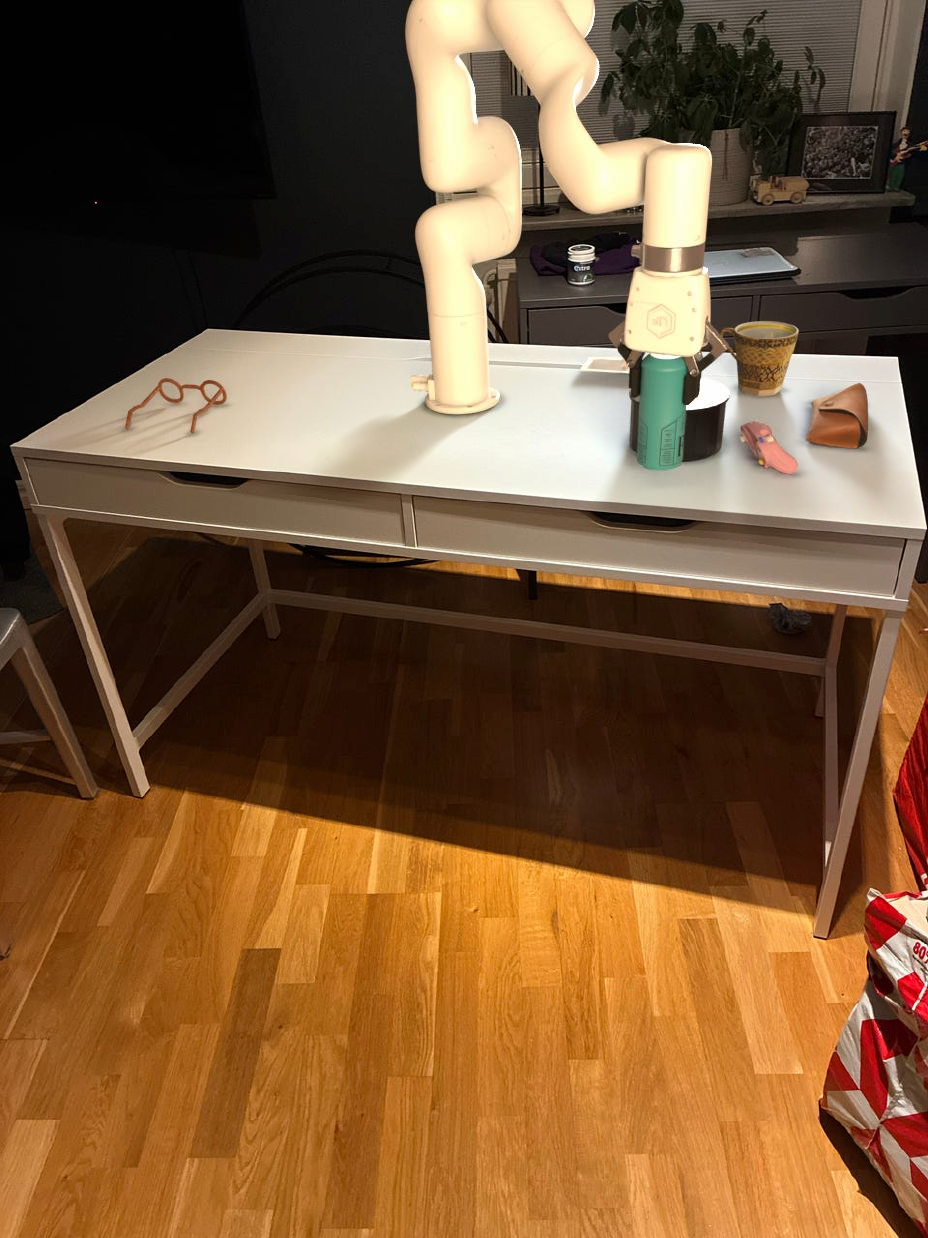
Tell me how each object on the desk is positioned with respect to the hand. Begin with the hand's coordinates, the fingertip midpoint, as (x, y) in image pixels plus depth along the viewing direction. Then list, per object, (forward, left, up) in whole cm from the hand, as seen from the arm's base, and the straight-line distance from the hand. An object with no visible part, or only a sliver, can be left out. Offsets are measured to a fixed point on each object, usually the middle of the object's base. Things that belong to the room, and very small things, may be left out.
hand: (663, 397), depth 125 cm
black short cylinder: (+1, +12, -11) cm, 17 cm away
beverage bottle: (0, 0, -11) cm, 11 cm away
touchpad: (-11, +44, -12) cm, 47 cm away
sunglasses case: (+24, +23, -12) cm, 35 cm away
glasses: (-83, +11, -12) cm, 84 cm away
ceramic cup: (+11, +38, -12) cm, 41 cm away
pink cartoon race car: (+14, +7, -12) cm, 20 cm away
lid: (+1, +12, -4) cm, 13 cm away
